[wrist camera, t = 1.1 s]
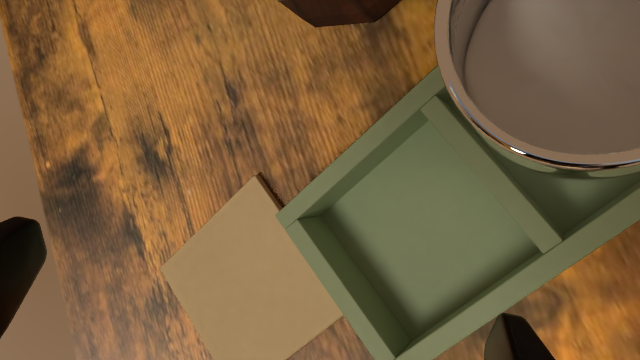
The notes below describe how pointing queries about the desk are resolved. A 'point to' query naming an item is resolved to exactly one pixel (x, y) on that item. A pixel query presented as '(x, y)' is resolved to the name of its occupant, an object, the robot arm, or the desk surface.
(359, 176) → the holder
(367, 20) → the mug
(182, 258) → the coaster
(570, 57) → the beer glass
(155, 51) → the desk surface
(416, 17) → the desk surface
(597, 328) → the desk surface
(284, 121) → the desk surface
